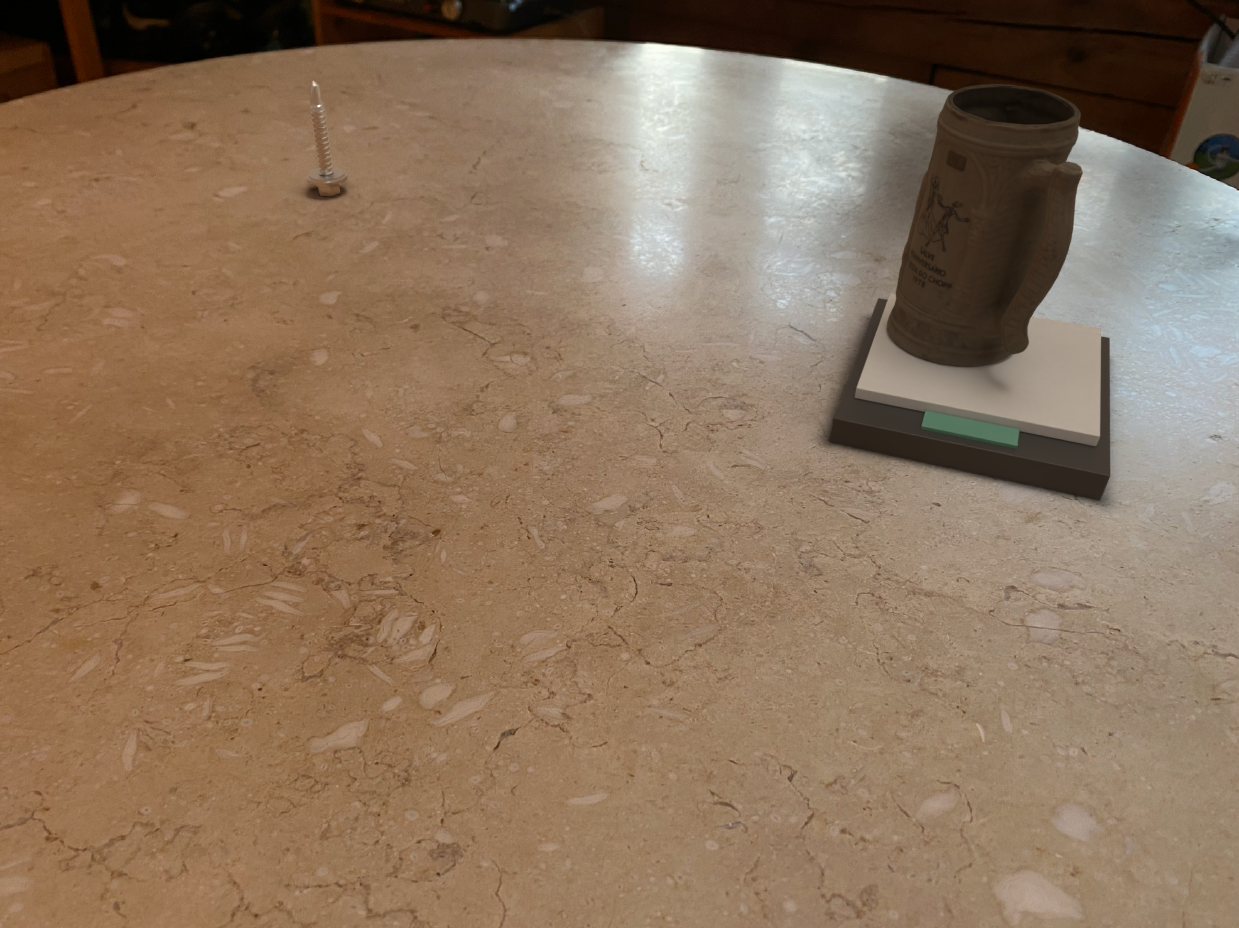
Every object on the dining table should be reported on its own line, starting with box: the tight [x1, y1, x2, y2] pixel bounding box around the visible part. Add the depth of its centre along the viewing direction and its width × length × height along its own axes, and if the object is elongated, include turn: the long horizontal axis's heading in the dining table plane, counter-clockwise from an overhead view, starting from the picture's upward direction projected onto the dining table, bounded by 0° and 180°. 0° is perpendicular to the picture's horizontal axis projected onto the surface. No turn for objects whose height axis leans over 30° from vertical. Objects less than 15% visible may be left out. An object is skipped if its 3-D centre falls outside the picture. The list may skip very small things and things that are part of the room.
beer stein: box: [887, 83, 1084, 367], centre depth 81 cm, size 15×11×20 cm
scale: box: [828, 292, 1111, 501], centre depth 87 cm, size 20×22×4 cm
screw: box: [305, 80, 349, 198], centre depth 121 cm, size 13×5×5 cm
